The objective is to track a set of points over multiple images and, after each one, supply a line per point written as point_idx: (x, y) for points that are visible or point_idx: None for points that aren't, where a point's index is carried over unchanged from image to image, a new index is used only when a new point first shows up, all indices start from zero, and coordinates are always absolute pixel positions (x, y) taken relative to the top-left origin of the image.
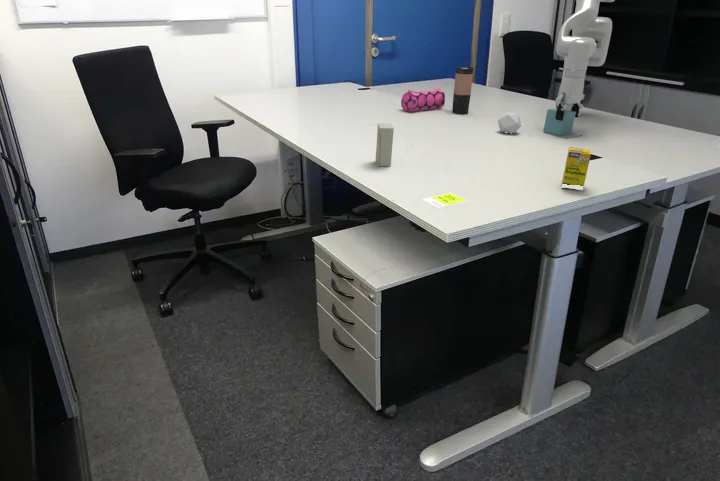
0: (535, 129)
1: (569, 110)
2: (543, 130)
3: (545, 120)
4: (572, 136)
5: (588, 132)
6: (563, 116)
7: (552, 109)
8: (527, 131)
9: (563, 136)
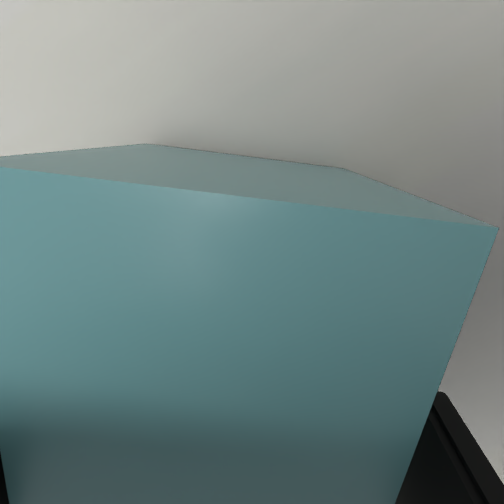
0: (186, 9)
1: (394, 471)
2: (144, 144)
3: (95, 148)
4: None
5: (484, 397)
6: None
7: (67, 252)
8: (18, 9)
9: None
